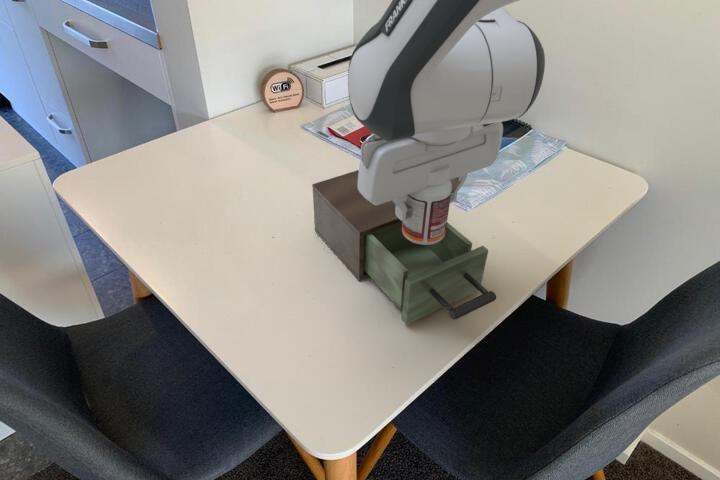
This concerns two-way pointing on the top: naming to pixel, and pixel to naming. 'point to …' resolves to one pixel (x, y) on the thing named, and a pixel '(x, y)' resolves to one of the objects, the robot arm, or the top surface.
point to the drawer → (426, 272)
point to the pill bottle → (429, 209)
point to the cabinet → (348, 219)
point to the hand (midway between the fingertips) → (426, 208)
